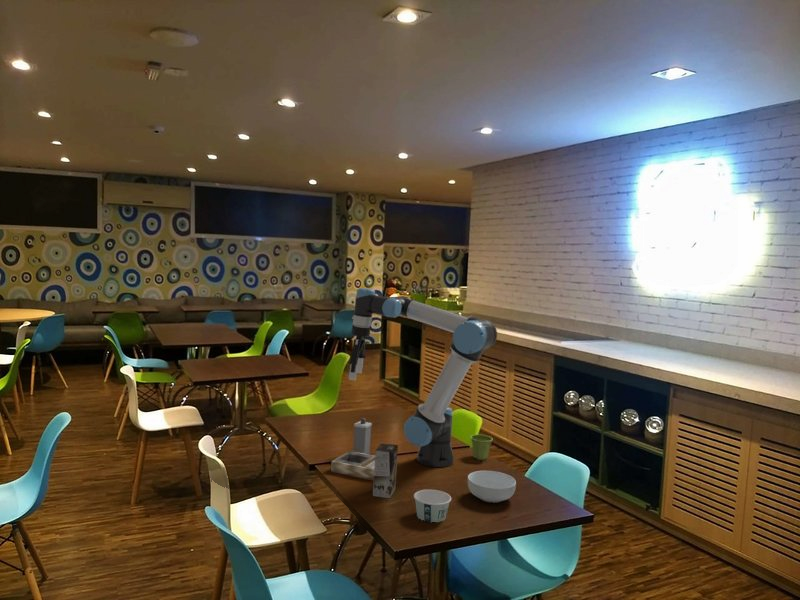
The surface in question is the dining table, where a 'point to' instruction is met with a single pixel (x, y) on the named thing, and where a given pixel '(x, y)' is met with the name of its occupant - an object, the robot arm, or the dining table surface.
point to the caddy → (355, 465)
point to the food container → (432, 505)
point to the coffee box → (385, 470)
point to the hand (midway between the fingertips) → (355, 376)
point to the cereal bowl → (491, 485)
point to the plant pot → (481, 446)
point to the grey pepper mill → (362, 436)
